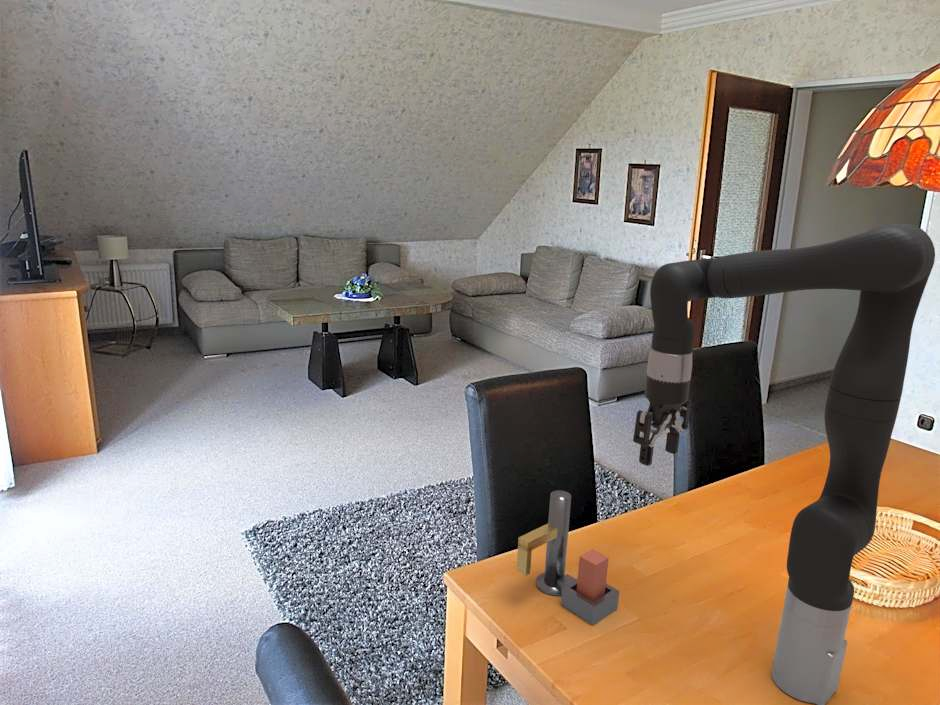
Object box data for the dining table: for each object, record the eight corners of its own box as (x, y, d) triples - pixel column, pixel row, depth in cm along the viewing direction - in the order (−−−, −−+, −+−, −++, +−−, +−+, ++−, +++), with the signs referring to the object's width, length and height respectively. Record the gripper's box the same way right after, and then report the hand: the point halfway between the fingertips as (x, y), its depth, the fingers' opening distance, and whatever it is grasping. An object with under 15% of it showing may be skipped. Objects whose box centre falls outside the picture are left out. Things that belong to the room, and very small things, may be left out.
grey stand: (617, 609, 129) (627, 515, 124) (570, 640, 120) (579, 540, 115) (552, 570, 140) (559, 483, 135) (506, 596, 131) (511, 503, 126)
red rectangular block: (603, 608, 129) (608, 557, 126) (590, 616, 127) (595, 565, 124) (587, 598, 132) (592, 549, 129) (575, 606, 129) (579, 555, 126)
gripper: (664, 387, 112) (654, 476, 117) (708, 372, 122) (697, 455, 126) (627, 376, 118) (618, 461, 122) (672, 362, 127) (662, 442, 131)
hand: (658, 458), depth 124 cm, fingers open, 8 cm apart
